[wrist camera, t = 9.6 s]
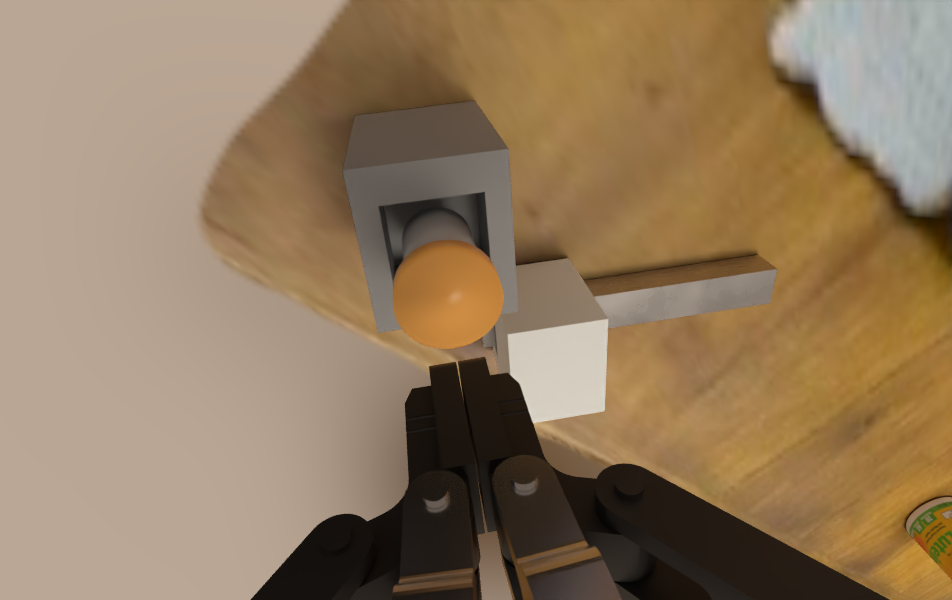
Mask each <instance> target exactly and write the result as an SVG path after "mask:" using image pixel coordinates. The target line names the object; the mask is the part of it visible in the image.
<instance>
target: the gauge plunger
mask: <svg viewBox="0 0 952 600" xmlns="http://www.w3.org/2000/svg"><path fill="white" fill-rule="evenodd" d="M402 249H403V261H402V263H401V264H400V265H399V267H398V269H397V271H396V274H395V277H394V281H393V309H394V314H395V317H396V320H397V322H398V324H399V325H400V327H401V328H402V330H403V331H404V332H405V333H406V334H407V335H408V336H409V337H410V338H412V339H413V340H415V341H417V342H419V343H421V344H423V345H426V346H429V347H433V348H440V349H450V348H457V347H462V346H465V345H468V344H471V343H473V342H475V341H477V340H478V339H480V338H481V337H483V336H484V335H485V334H487V333H488V332H489V331H490V330H491V329H492V327H493V326H494V325H495V324H496V322H497V320H498V319H499V316H500V314H501V311H502V308H503V302H504V294H503V288H502V285H501V282H500V279H499V277H498V274H497V271H496V269H495V267H494V264H493V263H492V261H491V260H490V258H489V257H488V256H487V255H486V254H485V253H484V252H483V251H481V250H480V249H479V248H477V247H476V245H475V242H474V239H473V236H472V233H471V230H470V227H469V225H468V223H467V222H466V220H465V219H464V218H463V217H462V216H461V215H460V214H458V213H457V212H455V211H453V210H451V209H448V208H443V207H433V208H428V209H425V210H422V211H420V212H418V213H417V214H415V215H414V216H413V217H412V218H411V219H410V220H409V221H408V223H407V224H406V226H405V228H404V231H403V235H402Z"/></svg>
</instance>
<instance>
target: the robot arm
mask: <svg viewBox="0 0 952 600" xmlns="http://www.w3.org/2000/svg"><path fill="white" fill-rule="evenodd" d="M458 365H459V372H460V379H461V386H462V391H461V386H460V381H459V375H458V370H457V365H456V362H452V363H446V364H440V365H434V366H429V370H430V379H431V386H427V387H420V388H414V389H412V390H411V393H410V394H409V396H408V398H407V400H406V402H405V413H406V414H405V416H406V432H407V454H408V472H409V484H408V488H407V490H406V491H405V494H404V496H403V498H402V499H401V500H400V501H399V503H398V504H397V505H395V506H394V507H393V508H392V509H390V510H389V511H388V512H385V513H384V514H382V515H380V516H378V517H376V518H374V519H372V520H369V521H366V520H365V519H363V518H362V517H360V516H357V515H353V514H341V515H336V516H333V517H330V518H328V519H326V520H325V521H323V522H321V523H320V524H319V525H317V526H316V527H315V528H314V529H313V530H312V532H311V533H310V534H309V535H308V536H307V537H306V538H305V539H304V541H303V542H302V543H301V544H300V545H299V546H298V547H297V548H296V549H295V551H294V552H293V553H292V554H291V555H290V556H289V557H288V558H287V559H286V561H285V562H284V563H283V564H282V565H281V566H280V567H279V569H278V570H277V571H276V572H275V573H274V574H273V575H272V577H270V579H269V580H268V581H267V582H266V583H265V584H264V585H263V586H262V588H261V589H260V590H259V591H258V592H257V593H256V594H255V595H254V597H253V598H252V599H251V600H482V592H481V580H480V568H479V562H480V549H479V543H478V534H483V533H485V530H484V523H483V516H482V509H481V502H480V494H481V499H482V504H483V510H484V515H485V521H486V526H487V531H488V532H492V531H497V534H498V539H499V544H500V550H501V559H502V564H503V568H504V571H505V575H506V578H507V582H508V585H509V588H510V592H511V595H512V599H513V600H889V599H887V598H885V597H883V596H882V595H880V594H878V593H876V592H874V591H872V590H870V589H869V588H867V587H865V586H863V585H861V584H859V583H857V582H855V581H854V580H852V579H850V578H848V577H846V576H844V575H842V574H841V573H839V572H837V571H835V570H833V569H831V568H829V567H828V566H826V565H824V564H822V563H820V562H818V561H816V560H814V559H813V558H811V557H809V556H807V555H805V554H803V553H801V552H800V551H798V550H796V549H794V548H792V547H790V546H788V545H787V544H785V543H783V542H781V541H779V540H777V539H775V538H773V537H772V536H770V535H768V534H766V533H764V532H762V531H760V530H759V529H757V528H755V527H753V526H751V525H749V524H747V523H746V522H744V521H742V520H740V519H738V518H736V517H734V516H732V515H731V514H729V513H727V512H725V511H723V510H721V509H719V508H718V507H716V506H714V505H712V504H710V503H708V502H706V501H705V500H703V499H701V498H699V497H697V496H695V495H693V494H691V493H690V492H688V491H686V490H684V489H682V488H680V487H678V486H677V485H675V484H673V483H671V482H669V481H667V480H665V479H664V478H662V477H660V476H658V475H656V474H654V473H652V472H650V471H649V470H647V469H645V468H643V467H640V466H637V465H633V464H616V465H612V466H610V467H607V468H606V469H604V470H603V471H602V472H601V473H600V474H599V475H598V477H597V479H592V478H582V477H574V476H570V475H566V474H563V473H562V472H559V471H558V470H556V469H555V468H553V467H552V466H551V465H550V464H549V463H548V462H547V460H546V459H545V457H544V455H543V452H542V449H541V446H540V443H539V440H538V437H537V434H536V431H535V428H534V425H533V422H532V419H531V416H530V413H529V411H528V407H527V404H526V401H525V399H524V395H523V392H522V389H521V386H520V384H519V383H518V382H517V381H516V380H515V379H514V378H513V377H512V376H511V375H510V374H509V373H502V374H496V375H490V373H489V370H488V366H487V362H486V359H485V357H481V358H475V359H469V360H463V361H458ZM462 393H463V396H462ZM463 400H464V402H463ZM477 478H478V480H477ZM478 484H479V487H478ZM479 489H480V494H479Z"/></svg>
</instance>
